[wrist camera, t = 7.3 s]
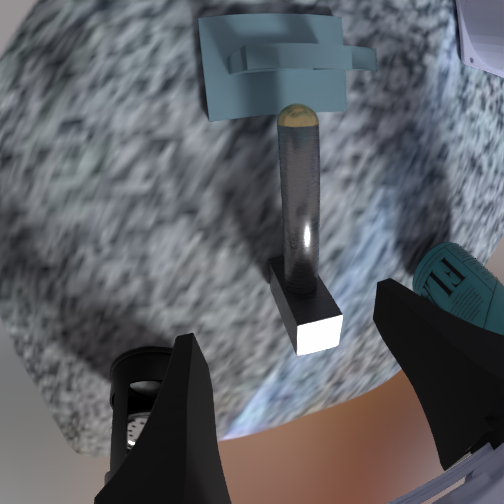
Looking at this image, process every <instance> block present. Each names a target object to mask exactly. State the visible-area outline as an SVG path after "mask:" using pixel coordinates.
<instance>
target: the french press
mask: <svg viewBox="0 0 504 504" xmlns="http://www.w3.org/2000/svg"><path fill="white" fill-rule="evenodd" d="M172 350H173V349H171V348H164V347H144V348H138V349H134V350H130V351H128V352H126V353H124V354H122V355H121V356H119V357H118V358H117V359H116V360H115V361H114V363H113V364H112V367H111V371H110V378H111V381H112V382H111V390H110V405H111V407H112V409H113V420H112V426H111V428H110V434H111V457H110V458H111V459H110V471H109V472H107V473H106V474H105V485H106V484H107V483H108V481H109V480H110V479H111V478H112V476H113V475H114V474H115V472H116V471H117V470H118V468H119V467H120V465H121V464H122V462H123V461H124V459H125V458H126V456H127V455H128V453H129V452H130V450H131V449H132V447H133V445H134V443H135V442H136V440H137V438H138V436H139V434H140V433H141V431H142V429H143V427H144V425H145V423H146V421H147V419H148V417H149V414H150V412H151V410H152V408H153V405H154V403H155V400H154V399H149V398H145V397H143V396H140V395H138V394H136V393H134V392H133V391H132V390H130V384H131V383H135V382H141V381H163V379H164V376H165V373H166V370H167V367H168V364H169V361H170V357H171V354H172Z"/></svg>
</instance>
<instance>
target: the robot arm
mask: <svg viewBox="0 0 504 504" xmlns="http://www.w3.org/2000/svg"><path fill="white" fill-rule="evenodd" d="M456 6H457V14H458V22H459V33H460V46H461V60H462V62H463V63H464V64H465V65H468V66H471V67H474V68H477V69H480V70H483V71H486V72H489V73H492V74H495V75H497V76H500V77H502V78H504V0H456ZM373 320H374V322H375V324H376V327H377V329H378V331H379V333H380V335H381V337H382V339H383V340H384V342H385V343H386V345H387V347H388V348H389V350H390V351H391V353H392V354H393V356H394V357H395V359H396V360H397V362H398V363H399V365H400V366H401V368H402V370H403V371H404V373H405V374H406V376H407V377H408V379H409V381H410V382H411V384H412V386H413V388H414V390H415V392H416V394H417V396H418V399H419V401H420V403H421V405H422V408H423V410H424V413H425V415H426V417H427V420H428V423H429V425H430V428H431V431H432V434H433V437H434V440H435V444H436V448H437V451H438V455H439V459H440V463H441V466H442V468H443V469H444V471H446V470H448V469H449V468H451V467H452V466H454V465H456V464H457V463H459V462H460V461H461V460H463V459H465V458H466V457H468V456H469V455H470V454H472V455H471V456H469V457H468V458H466V459H465V460H463V461H462V462H460V463H459V464H457V465H456V466H454V467H453V468H451V469H450V470H448V471H446V472H445V473H443V474H441V475H440V476H438V477H436V478H435V479H433V480H431V481H429V482H428V483H426V484H424V485H422V486H420V487H418V488H417V489H415V490H413V491H411V492H409V493H407V494H405V495H403V496H401V497H399V498H397V499H395V500H393V501H390V502H388V503H386V504H420V503H422V502H424V501H426V500H428V499H429V498H431V497H433V496H435V495H436V494H438V493H440V492H441V491H443V490H445V489H446V488H448V487H450V486H451V485H453V484H454V483H456V482H457V481H459V480H460V479H462V478H463V477H465V476H466V475H467V476H466V478H465V482H464V484H462V485H460V486H459V487H457V488H456V489H454V490H452V491H451V492H449V493H447V494H446V495H444V496H443V497H441V498H439V499H438V500H436V501H435V502H433V503H432V504H504V335H501V334H498V333H495V332H492V331H489V330H486V329H484V328H481V327H479V326H476V325H474V324H472V323H469V322H467V321H465V320H463V319H461V318H459V317H457V316H455V315H453V314H451V313H449V312H447V311H445V310H443V309H442V308H440V307H438V306H436V305H435V304H433V303H431V302H430V301H428V300H426V299H425V298H423V297H421V296H420V295H418V294H416V293H415V292H413V291H411V290H410V289H408V288H406V287H405V286H403V285H402V284H400V283H398V282H396V281H395V280H393V279H391V278H389V279H386V280H383V281H380V282H377V290H376V299H375V306H374V314H373ZM94 504H231V500H230V497H229V493H228V490H227V485H226V481H225V477H224V473H223V469H222V465H221V460H220V456H219V451H218V444H217V436H216V425H215V413H214V401H213V389H212V384H211V378H210V373H209V368H208V364H207V362H206V360H205V358H204V356H203V354H202V351H201V349H200V347H199V345H198V343H197V340H196V338H195V336H194V334H193V333H190V334H185V335H181V336H177V337H176V339H175V343H174V347H173V350H172V354H171V357H170V361H169V364H168V367H167V370H166V373H165V376H164V379H163V382H162V385H161V388H160V390H159V393H158V395H157V398H156V400H155V403H154V405H153V408H152V410H151V412H150V414H149V417H148V419H147V421H146V423H145V425H144V427H143V429H142V431H141V433H140V434H139V436H138V438H137V440H136V442H135V443H134V445H133V447H132V449H131V450H130V452H129V453H128V455H127V456H126V458H125V459H124V461H123V462H122V464H121V465H120V467H119V468H118V470H117V471H116V472H115V474H114V475H113V476H112V478H111V479H110V480H109V481H108V483H107V484H106V485H105V486H104V487H103V489H102V490H101V491H100V492H99V493H98V494H97V496H96V497H95V499H94Z"/></svg>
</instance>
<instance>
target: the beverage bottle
mask: <svg viewBox="0 0 504 504" xmlns="http://www.w3.org/2000/svg"><path fill="white" fill-rule="evenodd" d="M482 265H483V264H482ZM482 265H481V264H480V263H479V262H478V261H477V260H476V258H475V257H474V258H473V257H472V256H471V255H470V254H469V252H468V251H467V252H466V251H465V250H464V249H463V248H462V246H459V245H458V244H457V243H452V242H444V243H441V244H439V245H437V246H436V247H434V248H433V249H431V250H430V251H429V252H428V253H427V254H426V255H425V256H424V258H423V259H422V260H421V262H420V263H419V265H418V267H417V269H416V271H415V274H414V277H413V283H412V286H413V290H414V292H415V293H416V294H418V295H420V296H421V297H423V298H425V299H426V300H428V301H430V302H431V303H433V304H435V305H436V306H438V307H440V308H442V309H443V310H445V311H447V312H449V313H451V314H453V315H455V316H457V317H459V318H461V319H463V320H465V321H467V322H469V323H472V324H474V325H476V326H479V327H481V328H484V329H486V330H489V331H492V332H495V333H498V334H501V335H504V286H503V284H502V283H500V281H499V280H498V279H497V278H496V277H494V276H493V275H492V274H491V273H490V272H489V271H488V270H487V269H486V268H485V266H484V265H483V266H482Z"/></svg>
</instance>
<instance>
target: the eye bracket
mask: <svg viewBox="0 0 504 504" xmlns="http://www.w3.org/2000/svg"><path fill="white" fill-rule="evenodd" d="M198 28H199V38H200V47H201V56H202V65H203V74H204V83H205V91H206V100H207V108H208V116H209V121H210V122H213V121H220V120H227V119H235V118H244V117H253V116H263V115H274V114H280V112H281V111H282V110H283V109H284V108H285V107H286V106H288V105H290V104H295V103H300V104H304V105H307V106H309V107H310V108H311V109H313V110H314V112H333V111H347V102H346V75H345V70H364V71H377V58H376V49H373V48H365V47H356V46H346V45H344V44H343V31H342V21H341V17H334V16H323V15H310V14H286V13H260V14H236V15H222V16H211V17H202V18H198Z"/></svg>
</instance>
